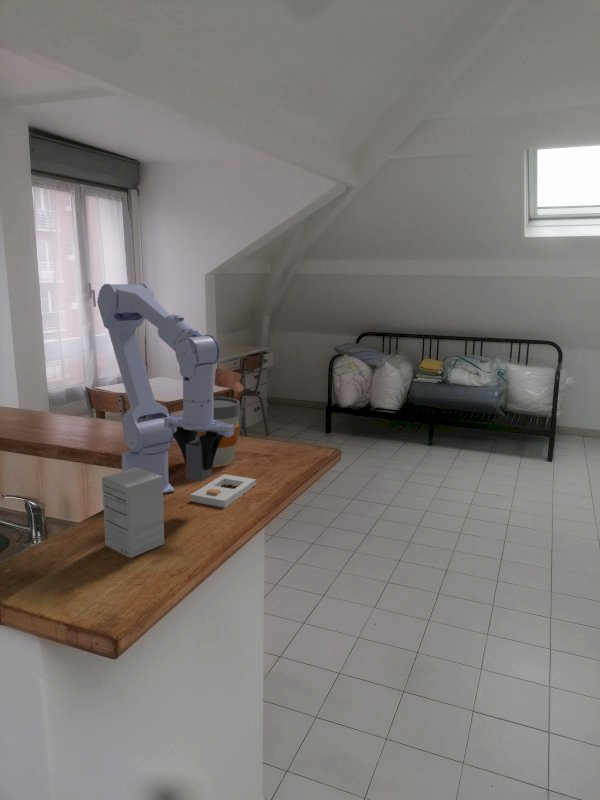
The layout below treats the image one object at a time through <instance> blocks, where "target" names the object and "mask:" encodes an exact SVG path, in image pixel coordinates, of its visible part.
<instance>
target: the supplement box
mask: <svg viewBox="0 0 600 800" xmlns="http://www.w3.org/2000/svg"><path fill="white" fill-rule="evenodd" d="M101 484H102V485H101V487H102V502H103V521H104V522H103V524H104V541H105V544H104V545H105V546H106V547H107V548H108V549H109V548H110V549H111V550H113V551H115V552H117V553H120V554H121V555H122V556H125V557H128V558H129V559H132V558H135V557H136V556H139V555H142V554H144V553H146V552H148V551H151V550H153V549H155V548H158V547H161V546H163V545H164V544H165V524H164V523H165V520H164V519H165V517H164V516H165V515H164V493H163V483H162V476H160V475H157V474H155V473H152V472H149V471H146V470H143V469H140V468H137V467H135V468H132V469H129V470H126V471H122V470H121V471H119V472H116V473H113V474H109V475H105V476H102V477H101Z"/></svg>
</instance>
